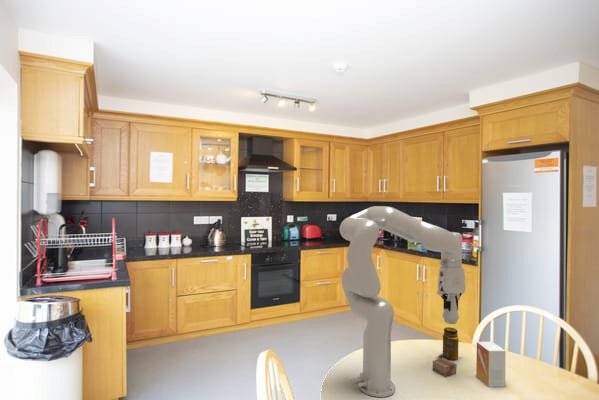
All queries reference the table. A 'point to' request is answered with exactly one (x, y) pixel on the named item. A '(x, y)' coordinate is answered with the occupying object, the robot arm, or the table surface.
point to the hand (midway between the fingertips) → (450, 309)
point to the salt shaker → (451, 311)
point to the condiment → (450, 345)
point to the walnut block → (444, 367)
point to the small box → (490, 364)
